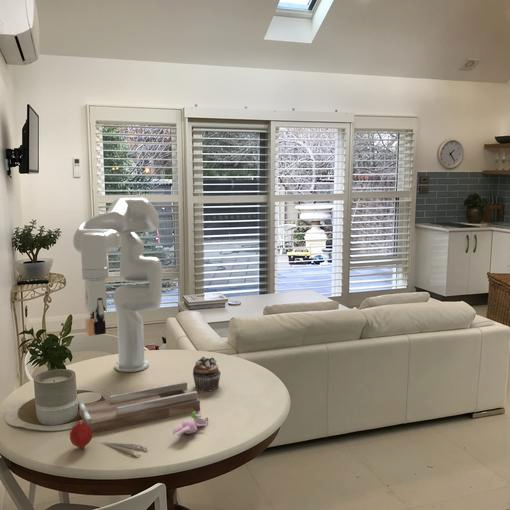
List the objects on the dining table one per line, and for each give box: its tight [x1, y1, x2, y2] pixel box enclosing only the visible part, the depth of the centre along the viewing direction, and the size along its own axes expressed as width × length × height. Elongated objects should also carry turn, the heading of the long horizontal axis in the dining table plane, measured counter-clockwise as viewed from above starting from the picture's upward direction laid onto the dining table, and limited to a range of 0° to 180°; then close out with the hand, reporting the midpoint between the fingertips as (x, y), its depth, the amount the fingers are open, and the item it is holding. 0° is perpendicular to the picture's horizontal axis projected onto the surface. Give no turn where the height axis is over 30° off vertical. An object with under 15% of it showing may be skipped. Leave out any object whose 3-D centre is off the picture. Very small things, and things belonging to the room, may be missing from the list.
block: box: [84, 318, 107, 337], centre depth 165 cm, size 5×5×4 cm
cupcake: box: [192, 356, 221, 392], centre depth 186 cm, size 10×10×10 cm
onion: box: [69, 419, 93, 449], centre depth 145 cm, size 6×6×8 cm
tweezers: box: [98, 441, 149, 458], centre depth 147 cm, size 18×5×2 cm, turn 64°
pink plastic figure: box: [172, 411, 210, 436], centre depth 154 cm, size 6×6×15 cm
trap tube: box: [78, 381, 201, 434], centre depth 167 cm, size 14×34×5 cm, turn 118°
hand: (98, 330), depth 166 cm, fingers closed on block, 5 cm apart
